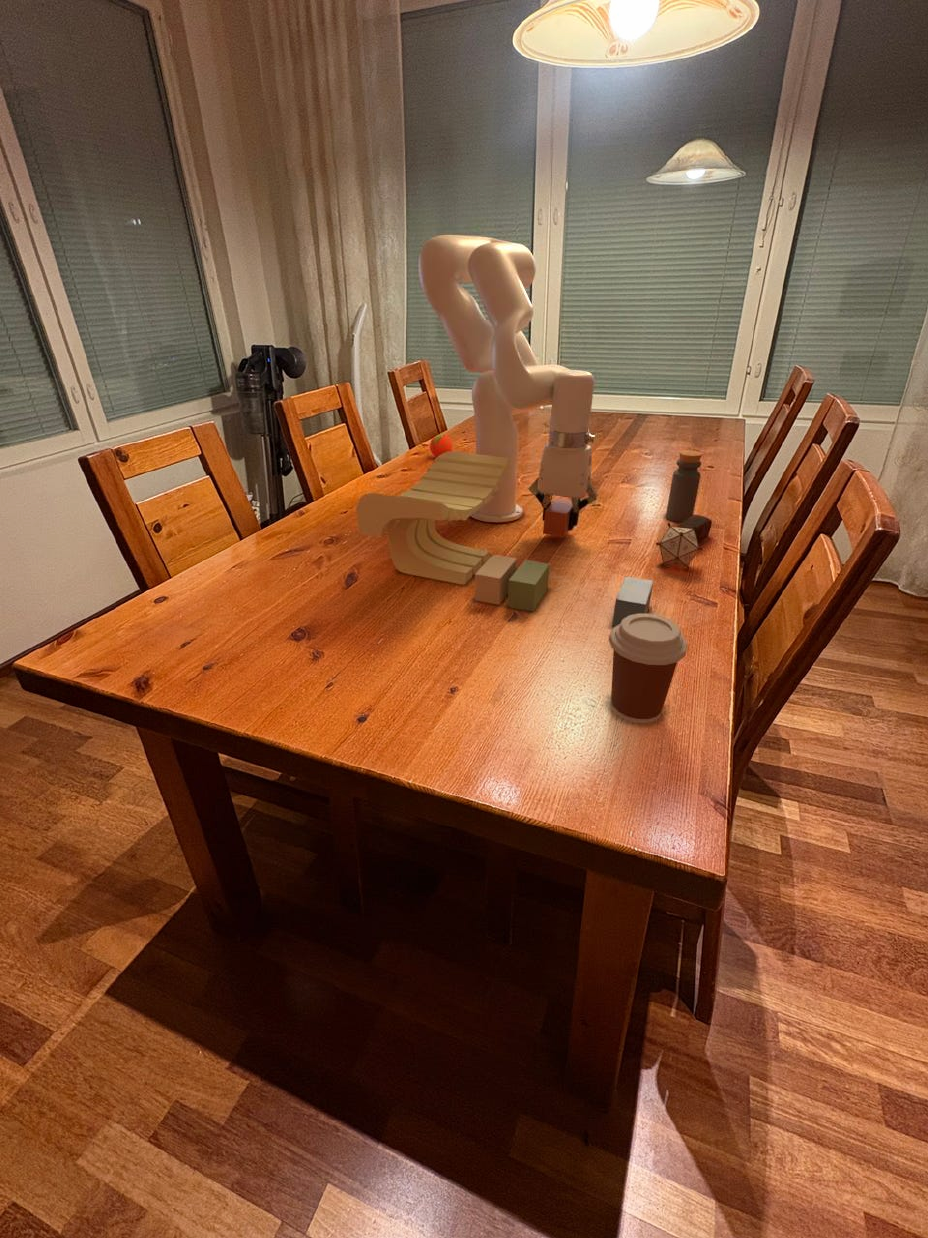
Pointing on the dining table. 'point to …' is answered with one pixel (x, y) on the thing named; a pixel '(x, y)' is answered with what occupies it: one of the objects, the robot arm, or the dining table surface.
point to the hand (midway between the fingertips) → (559, 525)
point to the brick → (698, 526)
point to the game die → (678, 546)
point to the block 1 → (494, 579)
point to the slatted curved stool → (434, 516)
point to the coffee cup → (644, 665)
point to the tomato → (440, 445)
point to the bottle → (684, 487)
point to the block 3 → (632, 598)
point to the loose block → (557, 517)
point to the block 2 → (528, 585)
